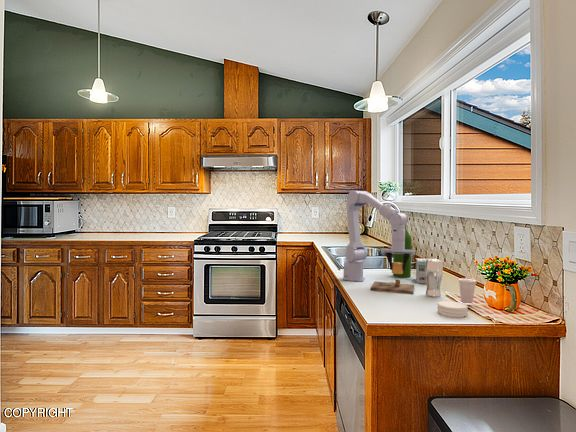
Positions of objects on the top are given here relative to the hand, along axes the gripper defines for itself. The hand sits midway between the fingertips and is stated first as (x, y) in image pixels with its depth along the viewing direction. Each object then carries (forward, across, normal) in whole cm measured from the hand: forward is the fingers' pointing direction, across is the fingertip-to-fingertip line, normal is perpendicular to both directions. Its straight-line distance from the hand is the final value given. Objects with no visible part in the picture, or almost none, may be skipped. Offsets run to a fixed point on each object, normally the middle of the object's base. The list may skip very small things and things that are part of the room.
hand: (397, 270), depth 179 cm
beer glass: (+9, +15, -7) cm, 19 cm away
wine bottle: (+9, 0, +31) cm, 33 cm away
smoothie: (+9, +27, -18) cm, 34 cm away
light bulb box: (+9, +11, +22) cm, 27 cm away
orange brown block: (+1, 0, 0) cm, 1 cm away
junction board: (+8, -2, -1) cm, 9 cm away
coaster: (+9, +21, -33) cm, 40 cm away
